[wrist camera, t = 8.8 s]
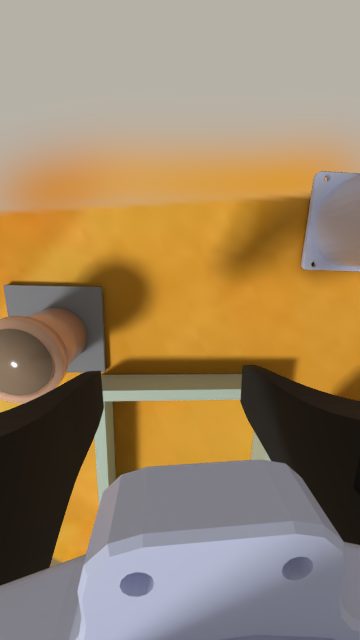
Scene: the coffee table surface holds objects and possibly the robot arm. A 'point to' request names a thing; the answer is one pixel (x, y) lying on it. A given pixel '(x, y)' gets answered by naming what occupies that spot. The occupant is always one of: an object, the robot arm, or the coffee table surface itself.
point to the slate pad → (75, 300)
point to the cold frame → (158, 390)
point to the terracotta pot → (38, 352)
